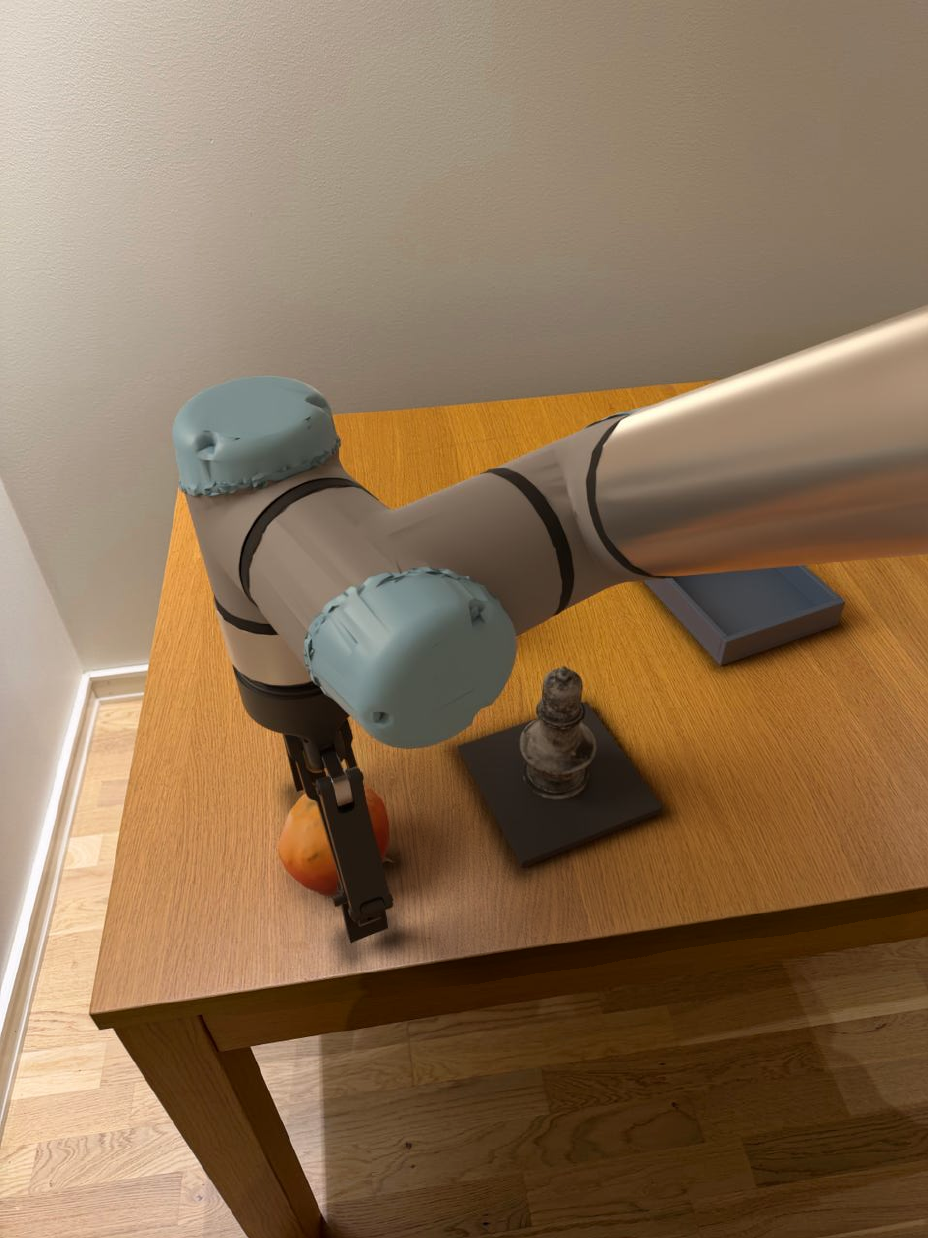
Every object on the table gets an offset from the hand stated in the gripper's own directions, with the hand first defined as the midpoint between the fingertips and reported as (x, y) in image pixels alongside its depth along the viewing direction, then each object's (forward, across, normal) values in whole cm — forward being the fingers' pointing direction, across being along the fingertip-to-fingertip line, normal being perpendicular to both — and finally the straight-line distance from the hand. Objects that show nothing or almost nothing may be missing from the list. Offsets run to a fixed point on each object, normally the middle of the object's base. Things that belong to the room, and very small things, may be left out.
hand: (338, 852), depth 65 cm
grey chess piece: (0, 0, -18) cm, 18 cm away
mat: (+1, 0, -18) cm, 18 cm away
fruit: (+1, 0, 0) cm, 1 cm away
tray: (+1, +12, -44) cm, 46 cm away
